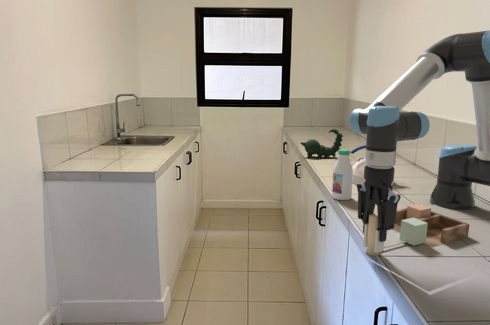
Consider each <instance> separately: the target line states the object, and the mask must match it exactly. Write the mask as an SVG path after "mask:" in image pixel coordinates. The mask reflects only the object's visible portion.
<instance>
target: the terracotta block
mask: <svg viewBox="0 0 490 325" xmlns="http://www.w3.org/2000/svg"><path fill="white" fill-rule="evenodd" d="M406 208H407V219H409V218H416V219H421V218H425V217H429V216H430V215H431V211H432V207H430V206H427V205H423V204H421V203H415V204H410V205H407V207H406Z"/></svg>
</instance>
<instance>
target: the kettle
mask: <svg viewBox="0 0 490 325" xmlns="http://www.w3.org/2000/svg"><path fill="white" fill-rule="evenodd" d="M364 149H366V144H365V145H364V144H363V145H361V146H358V147H356V148H354V149H352V150H350V154H352V155H354V154H355V153H357V152H358V151H360V150H364ZM395 163H397V160H396V159H395ZM365 165H367V164H366V163H365V157H360V158H358V160H357V162H356V163H355V164H353V165H352V169H353V179H352V185H356V186H357V184H363V183H364V182H365V179H364V167H365ZM393 185H394V181H393V182H392V184H391V186H393Z"/></svg>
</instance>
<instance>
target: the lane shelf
mask: <svg viewBox="0 0 490 325" xmlns="http://www.w3.org/2000/svg"><path fill="white" fill-rule="evenodd" d="M407 208H408V207H406V208H401V209H397V212H396V219H395V225H394V229H391V231H392V230H393V231H394V232H397V233H399V234H400V229H401V220H405V219H407ZM418 220H421V221H424V222H426V223H428V226H427V235H426V243H423V244H424V245H426V246H428V247H431V248H434V247H437V246H441V245H445V244H448V243H451V242H455V241H458V240H462V239H465V238H468V237H469V230H470V225H471V224H470V223H467V222H464V221H461V220H459V219H456V218H452V217H450V216H447V215H443V214H441V213H437V212H435V211H432V210H431V215H430V216H429V217H425V218H421V219H418Z"/></svg>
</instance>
